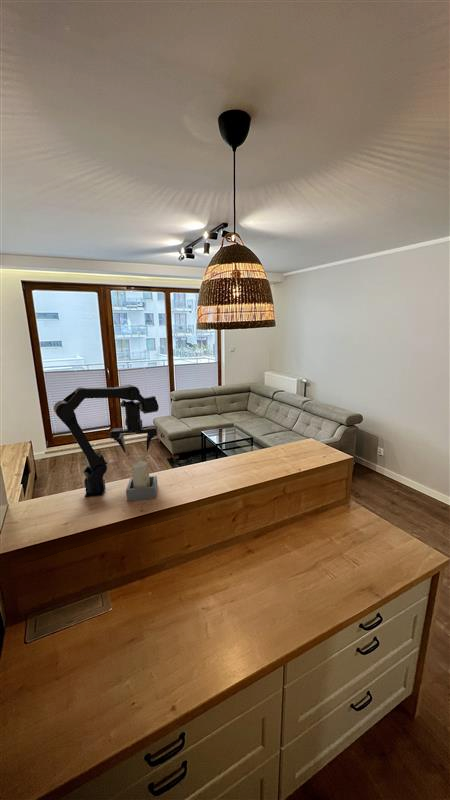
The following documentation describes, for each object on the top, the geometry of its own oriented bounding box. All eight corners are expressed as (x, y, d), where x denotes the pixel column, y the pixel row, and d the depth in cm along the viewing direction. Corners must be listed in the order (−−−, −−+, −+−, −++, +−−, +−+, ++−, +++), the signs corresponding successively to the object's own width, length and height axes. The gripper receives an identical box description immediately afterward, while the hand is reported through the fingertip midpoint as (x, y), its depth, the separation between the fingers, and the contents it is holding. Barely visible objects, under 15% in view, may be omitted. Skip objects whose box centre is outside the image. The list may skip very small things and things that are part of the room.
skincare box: (144, 497, 123) (142, 467, 120) (133, 496, 124) (131, 467, 121) (151, 489, 129) (148, 461, 126) (140, 488, 130) (137, 460, 127)
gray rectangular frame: (127, 501, 120) (125, 490, 119) (131, 488, 131) (130, 477, 130) (155, 498, 122) (154, 487, 121) (157, 485, 132) (156, 475, 131)
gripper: (157, 409, 140) (160, 443, 144) (113, 412, 138) (117, 446, 141) (155, 416, 129) (158, 452, 133) (107, 419, 127) (112, 456, 131)
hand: (136, 451), depth 135 cm, fingers open, 9 cm apart
